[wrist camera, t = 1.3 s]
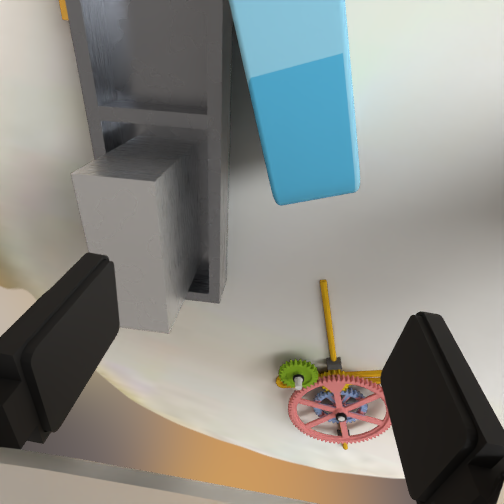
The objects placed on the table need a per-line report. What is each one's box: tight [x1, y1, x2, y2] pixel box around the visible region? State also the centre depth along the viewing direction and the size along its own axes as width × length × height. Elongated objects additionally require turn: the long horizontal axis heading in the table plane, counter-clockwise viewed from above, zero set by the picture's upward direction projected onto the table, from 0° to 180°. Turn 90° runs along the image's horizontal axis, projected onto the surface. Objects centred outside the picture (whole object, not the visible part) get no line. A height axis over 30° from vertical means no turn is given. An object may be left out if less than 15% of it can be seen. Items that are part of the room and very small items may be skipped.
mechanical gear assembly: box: [276, 280, 392, 450], centre depth 41 cm, size 30×4×15 cm
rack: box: [59, 0, 233, 333], centre depth 23 cm, size 11×33×11 cm, turn 177°
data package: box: [229, 0, 360, 205], centre depth 20 cm, size 12×4×12 cm, turn 14°
